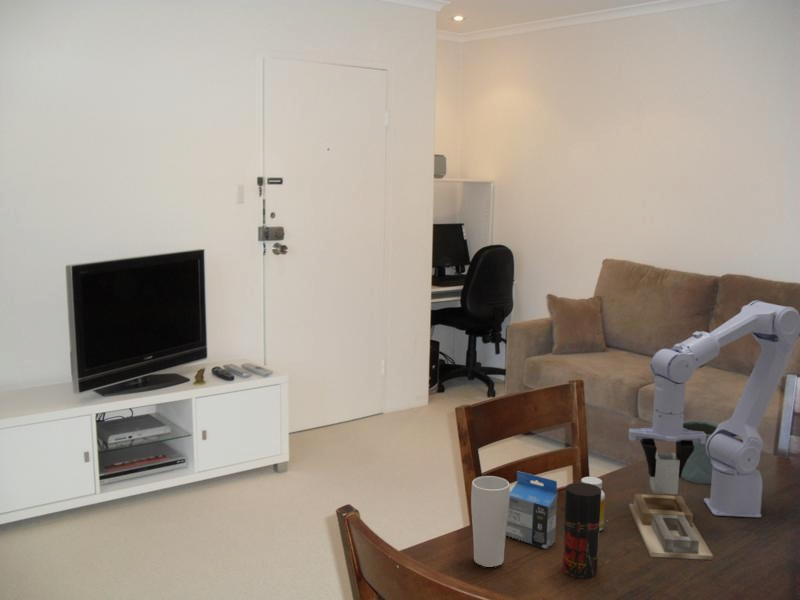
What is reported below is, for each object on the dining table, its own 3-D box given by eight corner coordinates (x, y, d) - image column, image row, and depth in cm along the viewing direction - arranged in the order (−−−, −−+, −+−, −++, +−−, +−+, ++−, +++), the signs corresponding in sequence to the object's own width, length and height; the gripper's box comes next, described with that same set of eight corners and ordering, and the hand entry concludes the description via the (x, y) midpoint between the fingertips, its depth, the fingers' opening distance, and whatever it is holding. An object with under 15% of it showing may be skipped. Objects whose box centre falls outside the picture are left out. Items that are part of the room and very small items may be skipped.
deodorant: (558, 562, 145) (562, 483, 143) (590, 561, 146) (594, 482, 143) (568, 578, 139) (571, 496, 137) (601, 577, 140) (606, 495, 137)
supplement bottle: (601, 521, 162) (603, 475, 160) (605, 533, 157) (607, 486, 155) (574, 520, 163) (576, 474, 161) (577, 532, 157) (579, 484, 156)
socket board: (683, 509, 168) (684, 494, 167) (712, 559, 146) (714, 542, 146) (629, 507, 169) (629, 492, 169) (650, 556, 147) (651, 539, 147)
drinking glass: (497, 575, 140) (500, 493, 138) (463, 564, 144) (464, 484, 141) (513, 559, 146) (516, 480, 144) (480, 550, 149) (482, 472, 147)
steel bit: (672, 485, 164) (674, 449, 163) (677, 494, 160) (679, 457, 159) (649, 484, 165) (651, 448, 164) (654, 493, 160) (656, 456, 159)
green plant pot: (673, 467, 192) (676, 419, 190) (717, 470, 191) (721, 421, 189) (681, 484, 182) (685, 432, 180) (728, 486, 181) (732, 435, 179)
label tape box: (504, 537, 155) (506, 476, 153) (515, 529, 158) (517, 470, 156) (546, 550, 150) (548, 487, 148) (556, 542, 153) (558, 480, 151)
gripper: (634, 414, 156) (631, 481, 158) (712, 417, 155) (707, 485, 157) (628, 404, 163) (624, 468, 165) (702, 407, 162) (697, 471, 164)
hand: (664, 475), depth 162 cm, fingers closed on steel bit, 4 cm apart
